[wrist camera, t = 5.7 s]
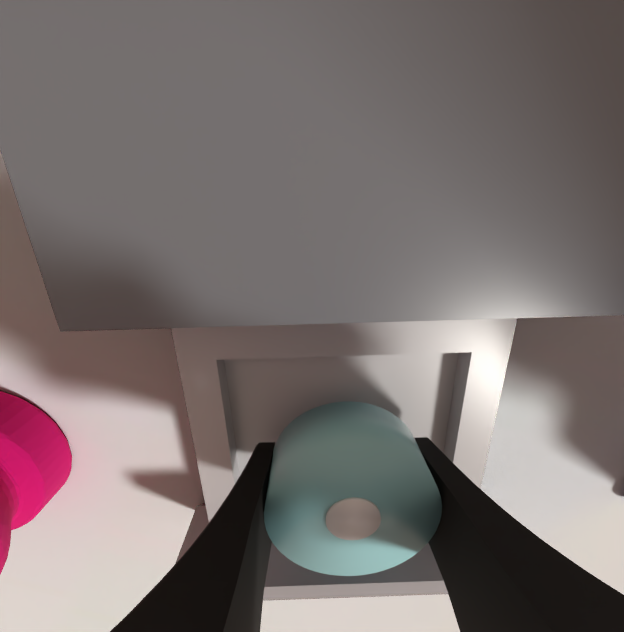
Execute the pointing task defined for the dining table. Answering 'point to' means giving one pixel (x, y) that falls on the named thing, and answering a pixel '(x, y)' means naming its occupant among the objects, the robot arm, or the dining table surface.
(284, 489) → the disc
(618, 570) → the dining table surface
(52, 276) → the box
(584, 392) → the dining table surface
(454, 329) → the tray
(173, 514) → the dining table surface
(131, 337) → the dining table surface
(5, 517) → the pepper mill
